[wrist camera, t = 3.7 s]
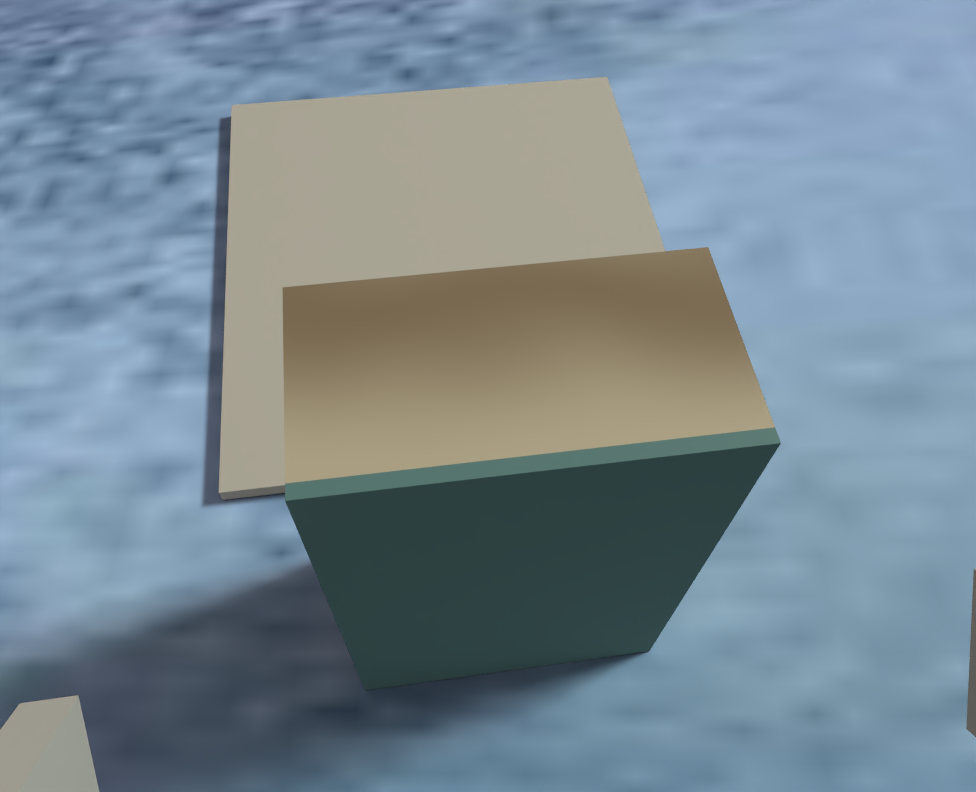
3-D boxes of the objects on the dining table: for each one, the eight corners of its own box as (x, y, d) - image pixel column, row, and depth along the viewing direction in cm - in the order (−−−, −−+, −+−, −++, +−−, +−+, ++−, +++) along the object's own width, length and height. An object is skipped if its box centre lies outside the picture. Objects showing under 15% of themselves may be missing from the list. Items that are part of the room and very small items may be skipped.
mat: (722, 442, 28) (726, 434, 27) (222, 499, 26) (218, 492, 26) (605, 86, 37) (607, 76, 37) (234, 114, 36) (231, 105, 35)
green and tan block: (649, 651, 24) (780, 443, 14) (365, 690, 23) (285, 500, 13) (615, 512, 26) (707, 247, 16) (356, 544, 26) (282, 287, 15)
